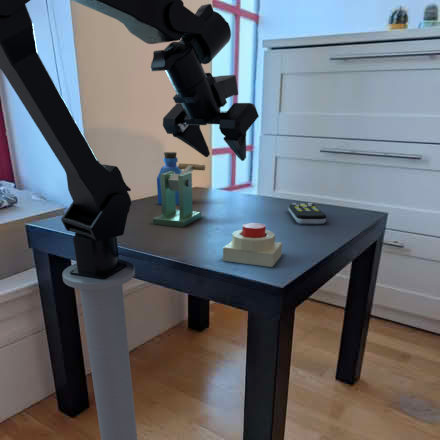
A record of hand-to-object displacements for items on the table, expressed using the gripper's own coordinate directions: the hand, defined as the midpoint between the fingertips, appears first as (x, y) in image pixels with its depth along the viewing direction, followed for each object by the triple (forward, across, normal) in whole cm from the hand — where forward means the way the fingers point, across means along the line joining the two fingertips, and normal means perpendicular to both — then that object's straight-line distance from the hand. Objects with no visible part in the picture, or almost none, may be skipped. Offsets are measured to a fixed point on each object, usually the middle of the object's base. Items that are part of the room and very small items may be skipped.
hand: (225, 157), depth 80 cm
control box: (+4, -17, +18) cm, 25 cm away
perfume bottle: (+16, +26, +1) cm, 30 cm away
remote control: (+21, -9, -6) cm, 24 cm away
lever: (+4, +11, +3) cm, 13 cm away
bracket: (+9, +10, +11) cm, 17 cm away
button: (+1, -17, +16) cm, 23 cm away
